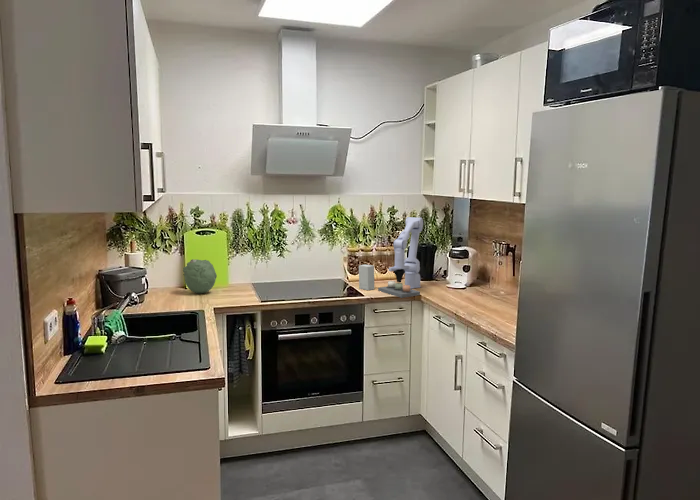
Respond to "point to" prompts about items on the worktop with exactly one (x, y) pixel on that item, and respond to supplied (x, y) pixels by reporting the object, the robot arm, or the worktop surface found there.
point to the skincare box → (366, 277)
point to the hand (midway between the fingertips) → (399, 282)
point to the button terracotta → (406, 288)
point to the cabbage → (199, 276)
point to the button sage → (398, 286)
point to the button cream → (391, 283)
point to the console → (398, 292)
